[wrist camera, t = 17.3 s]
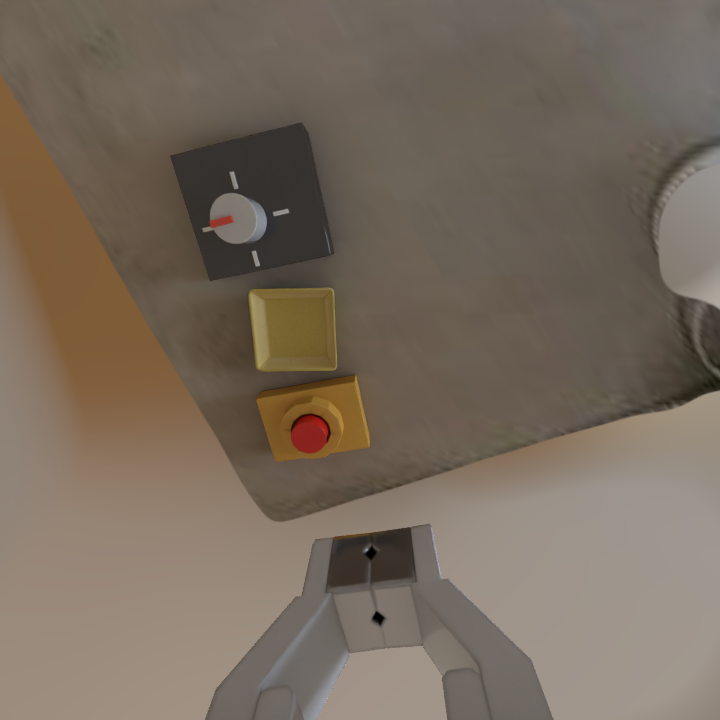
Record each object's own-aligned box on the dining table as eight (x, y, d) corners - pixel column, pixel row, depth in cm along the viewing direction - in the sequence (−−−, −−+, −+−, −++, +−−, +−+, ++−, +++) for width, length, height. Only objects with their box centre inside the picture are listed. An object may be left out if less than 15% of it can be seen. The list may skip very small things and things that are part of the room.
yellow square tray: (253, 286, 39) (246, 288, 37) (336, 285, 38) (333, 287, 36) (261, 365, 41) (255, 371, 39) (339, 364, 41) (337, 371, 39)
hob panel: (308, 132, 34) (301, 121, 31) (334, 253, 37) (330, 255, 34) (186, 162, 35) (168, 155, 32) (222, 278, 39) (208, 281, 36)
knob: (259, 191, 33) (246, 186, 30) (272, 237, 34) (262, 237, 31) (217, 203, 33) (200, 199, 30) (232, 248, 35) (217, 249, 31)
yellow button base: (356, 374, 41) (354, 388, 37) (369, 437, 43) (369, 456, 40) (261, 391, 42) (250, 406, 38) (280, 452, 45) (270, 471, 41)
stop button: (323, 411, 39) (321, 419, 37) (331, 442, 40) (329, 450, 38) (290, 417, 39) (286, 425, 37) (299, 447, 40) (295, 456, 38)
